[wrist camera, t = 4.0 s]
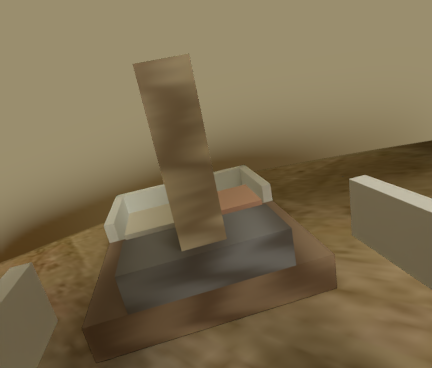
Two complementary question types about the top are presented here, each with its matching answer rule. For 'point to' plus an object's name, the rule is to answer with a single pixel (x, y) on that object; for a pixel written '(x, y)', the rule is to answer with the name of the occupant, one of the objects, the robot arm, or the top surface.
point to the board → (203, 299)
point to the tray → (158, 197)
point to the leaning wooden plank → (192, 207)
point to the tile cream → (149, 221)
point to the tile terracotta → (237, 199)
